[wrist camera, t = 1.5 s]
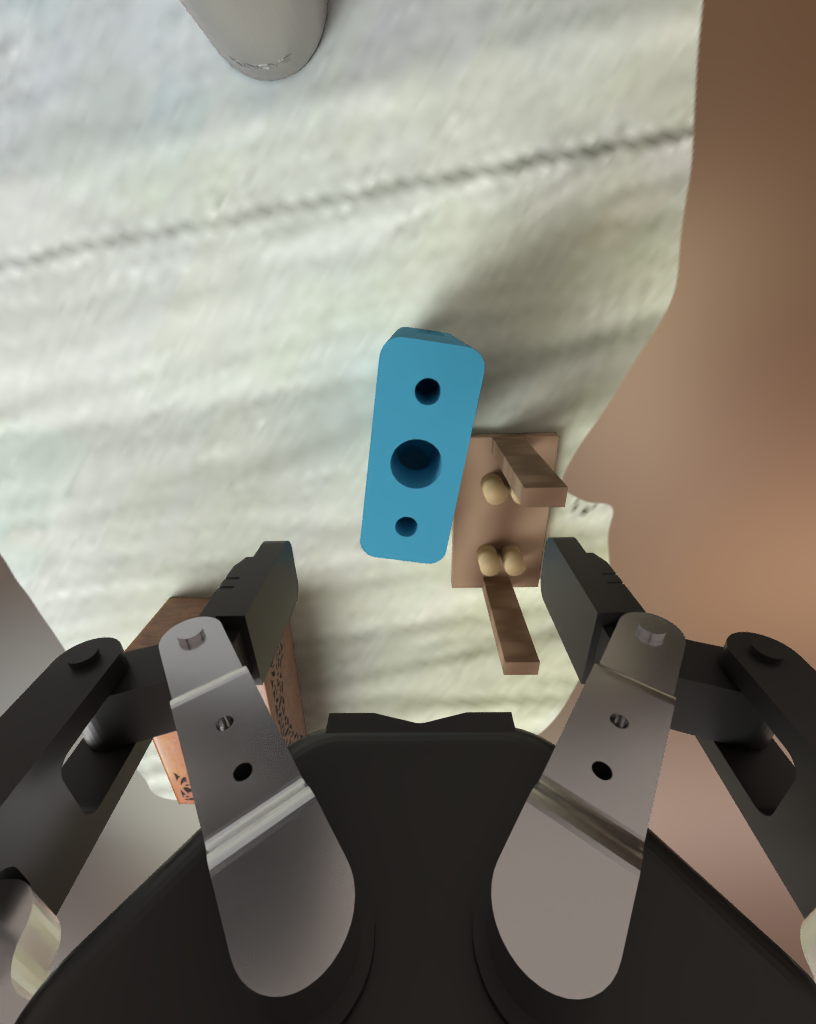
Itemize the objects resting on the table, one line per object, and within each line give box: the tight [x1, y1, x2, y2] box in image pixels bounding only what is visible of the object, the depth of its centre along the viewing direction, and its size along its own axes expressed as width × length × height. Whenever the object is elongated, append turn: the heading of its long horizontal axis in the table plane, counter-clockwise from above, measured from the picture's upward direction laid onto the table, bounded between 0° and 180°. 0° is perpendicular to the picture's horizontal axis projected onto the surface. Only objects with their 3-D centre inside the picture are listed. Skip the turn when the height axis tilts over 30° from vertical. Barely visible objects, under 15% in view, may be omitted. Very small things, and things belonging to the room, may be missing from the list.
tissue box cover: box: [124, 598, 307, 804], centre depth 52 cm, size 26×14×10 cm, turn 179°
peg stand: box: [451, 433, 568, 675], centre depth 39 cm, size 10×18×14 cm, turn 1°
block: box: [360, 327, 485, 564], centre depth 30 cm, size 12×5×20 cm, turn 172°
